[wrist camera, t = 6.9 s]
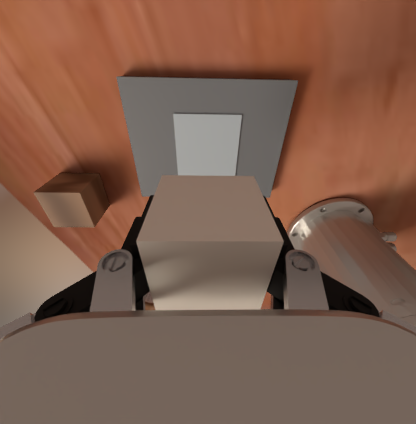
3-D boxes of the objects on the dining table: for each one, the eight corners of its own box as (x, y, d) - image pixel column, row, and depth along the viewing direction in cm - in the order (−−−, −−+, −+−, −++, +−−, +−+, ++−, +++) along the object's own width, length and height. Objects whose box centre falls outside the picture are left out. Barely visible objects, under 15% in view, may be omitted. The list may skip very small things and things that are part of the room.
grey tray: (292, 79, 20) (299, 80, 18) (266, 191, 27) (270, 198, 26) (121, 76, 19) (115, 76, 18) (144, 190, 27) (141, 197, 26)
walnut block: (99, 173, 25) (79, 192, 21) (110, 204, 28) (94, 227, 24) (60, 172, 25) (33, 192, 21) (75, 204, 28) (54, 226, 24)
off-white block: (253, 176, 11) (283, 241, 7) (242, 241, 14) (258, 313, 10) (162, 175, 11) (136, 241, 7) (170, 241, 14) (156, 314, 10)
